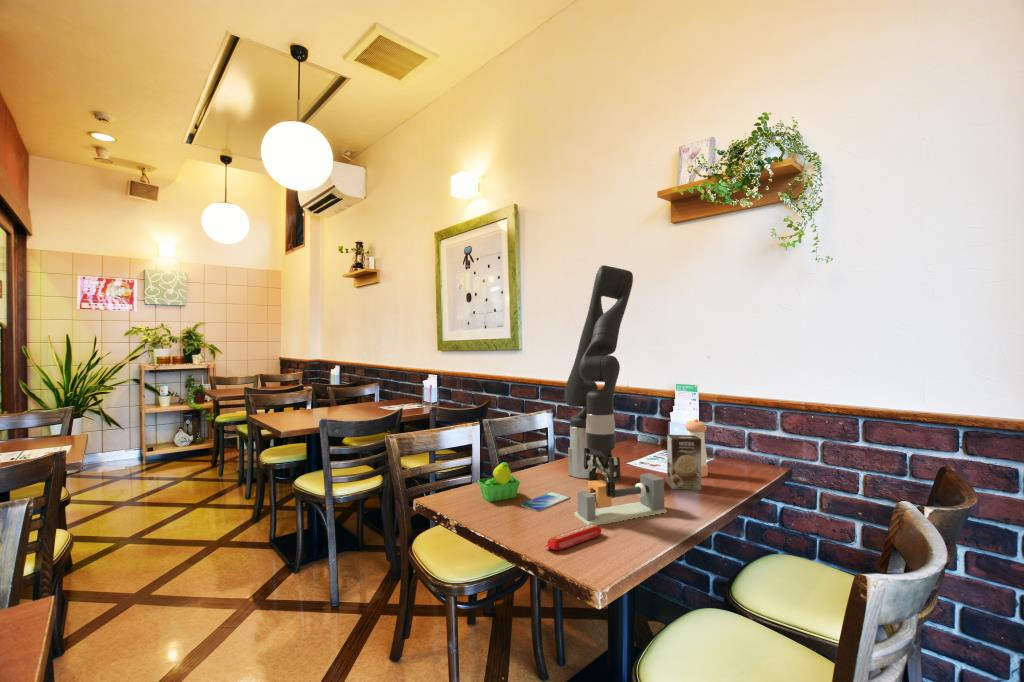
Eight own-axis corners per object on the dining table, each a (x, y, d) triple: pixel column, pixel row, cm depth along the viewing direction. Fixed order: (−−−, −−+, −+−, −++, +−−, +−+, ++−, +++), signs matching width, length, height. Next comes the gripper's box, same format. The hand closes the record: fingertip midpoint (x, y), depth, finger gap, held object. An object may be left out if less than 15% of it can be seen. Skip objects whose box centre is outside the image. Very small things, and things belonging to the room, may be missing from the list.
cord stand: (589, 526, 116) (588, 491, 116) (574, 515, 123) (573, 482, 123) (666, 513, 124) (666, 480, 124) (648, 503, 131) (647, 472, 131)
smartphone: (571, 497, 136) (538, 510, 126) (571, 500, 136) (538, 514, 126) (552, 491, 142) (519, 503, 131) (552, 493, 142) (519, 506, 131)
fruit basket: (510, 490, 144) (510, 455, 144) (523, 499, 136) (522, 461, 136) (477, 496, 139) (476, 459, 139) (488, 505, 131) (487, 466, 131)
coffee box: (671, 489, 143) (671, 438, 143) (666, 483, 150) (666, 434, 150) (702, 490, 142) (701, 438, 142) (695, 483, 149) (695, 434, 149)
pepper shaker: (683, 470, 163) (682, 417, 163) (704, 471, 162) (703, 417, 162) (688, 476, 156) (687, 421, 156) (710, 477, 155) (709, 421, 155)
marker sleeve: (598, 508, 118) (598, 487, 118) (588, 501, 123) (587, 481, 123) (611, 506, 120) (611, 485, 120) (601, 500, 124) (600, 479, 124)
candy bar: (593, 532, 113) (593, 520, 113) (604, 537, 110) (604, 524, 110) (543, 549, 104) (542, 536, 104) (553, 556, 101) (553, 542, 101)
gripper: (628, 433, 116) (629, 497, 116) (598, 425, 129) (599, 482, 129) (602, 436, 113) (604, 501, 113) (574, 427, 126) (576, 485, 126)
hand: (601, 491), depth 121 cm, fingers open, 8 cm apart
